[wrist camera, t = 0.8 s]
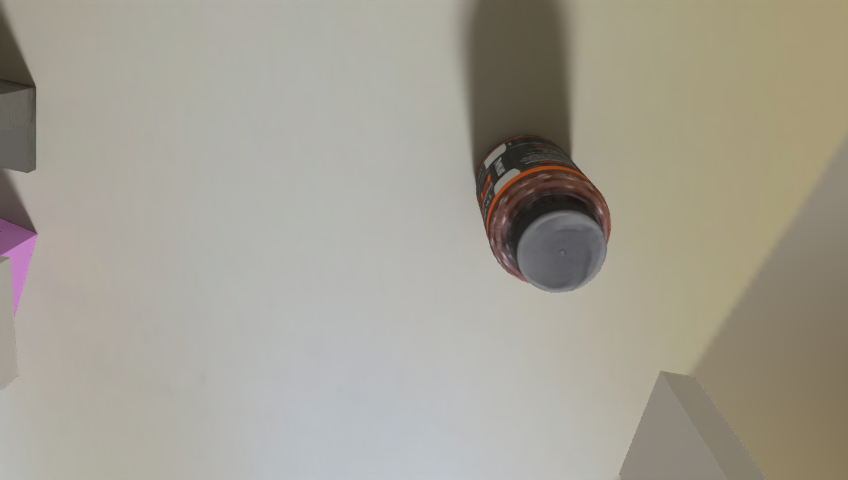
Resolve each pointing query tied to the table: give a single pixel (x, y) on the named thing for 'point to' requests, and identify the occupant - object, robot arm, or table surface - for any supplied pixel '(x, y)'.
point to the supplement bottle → (542, 214)
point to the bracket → (16, 254)
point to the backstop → (17, 126)
